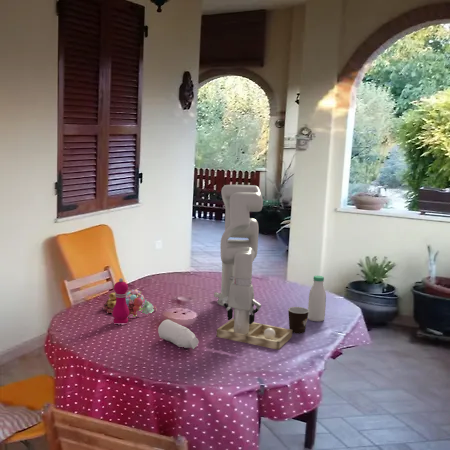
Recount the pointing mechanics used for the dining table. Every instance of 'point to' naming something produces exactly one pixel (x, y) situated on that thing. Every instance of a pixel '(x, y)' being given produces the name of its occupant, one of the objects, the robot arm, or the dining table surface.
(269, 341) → the caddy
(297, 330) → the coffee mug
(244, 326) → the mug
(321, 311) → the milk bottle
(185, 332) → the white plastic bottle
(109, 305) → the candy landscape model
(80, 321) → the dining table surface
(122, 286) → the pepper mill
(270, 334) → the stone egg
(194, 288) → the dining table surface
